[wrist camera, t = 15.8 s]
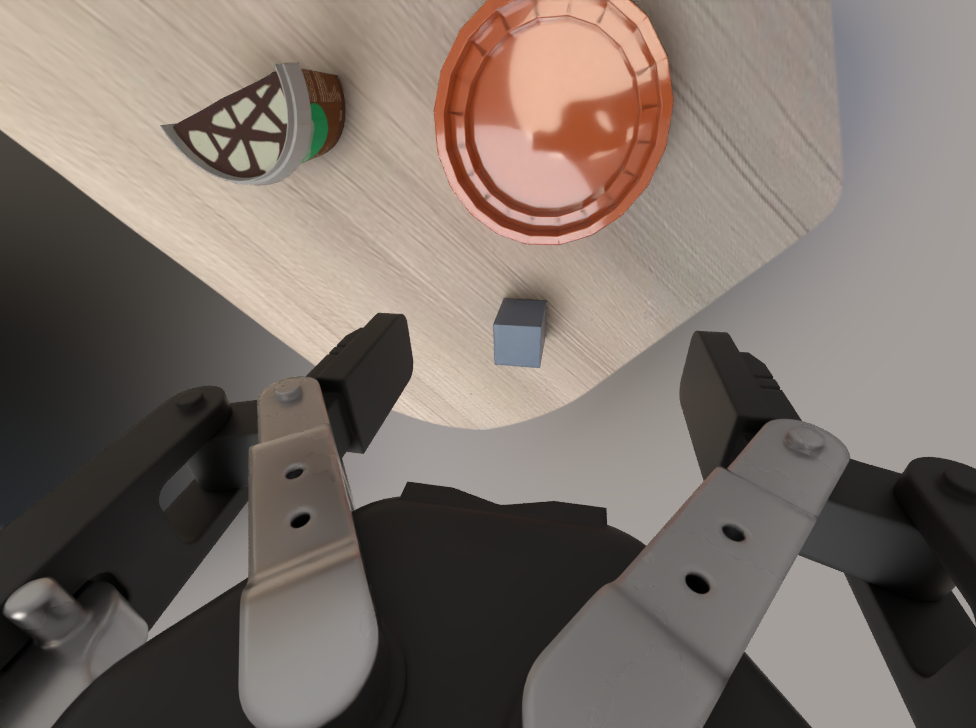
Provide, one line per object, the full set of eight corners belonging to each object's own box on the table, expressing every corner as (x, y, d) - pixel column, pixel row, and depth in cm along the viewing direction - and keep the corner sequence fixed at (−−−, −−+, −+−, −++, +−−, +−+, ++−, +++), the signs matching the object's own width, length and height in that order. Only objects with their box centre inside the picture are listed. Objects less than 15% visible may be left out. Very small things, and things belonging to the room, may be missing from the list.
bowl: (685, -26, 29) (698, -42, 25) (644, 233, 38) (649, 247, 35) (439, -4, 32) (422, -15, 29) (456, 230, 41) (445, 242, 38)
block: (546, 300, 43) (541, 327, 39) (545, 338, 46) (539, 368, 41) (503, 298, 44) (493, 324, 39) (504, 336, 47) (494, 364, 42)
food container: (279, 187, 43) (206, 210, 34) (244, 121, 40) (154, 128, 32) (382, 145, 39) (327, 160, 30) (351, 68, 36) (280, 60, 27)
